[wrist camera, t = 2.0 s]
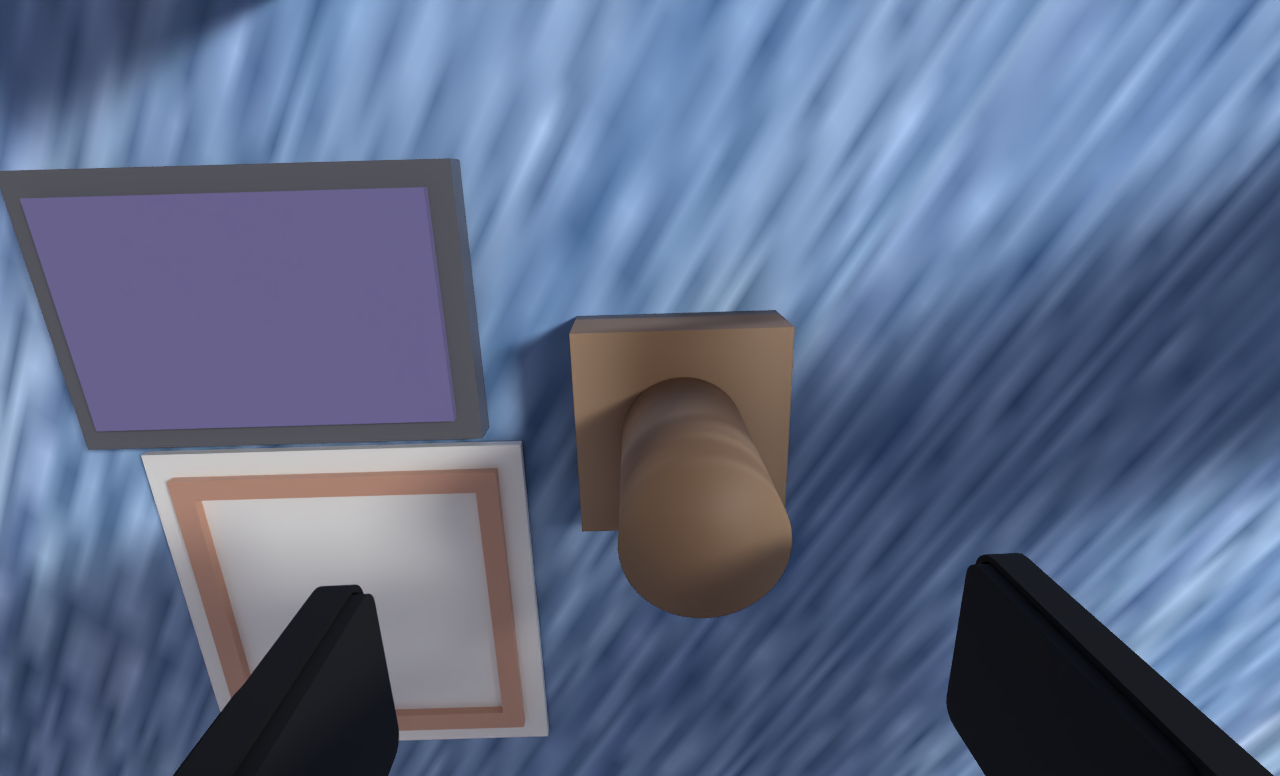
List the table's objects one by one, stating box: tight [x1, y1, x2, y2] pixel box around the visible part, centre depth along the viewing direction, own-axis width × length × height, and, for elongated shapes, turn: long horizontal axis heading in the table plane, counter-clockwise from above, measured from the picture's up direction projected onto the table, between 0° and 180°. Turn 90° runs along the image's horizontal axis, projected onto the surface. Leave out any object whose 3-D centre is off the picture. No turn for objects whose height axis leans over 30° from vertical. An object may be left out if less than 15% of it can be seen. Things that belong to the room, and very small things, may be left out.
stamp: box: [569, 310, 795, 618], centre depth 16 cm, size 6×6×8 cm
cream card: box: [141, 441, 549, 741], centre depth 21 cm, size 12×12×1 cm
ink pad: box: [0, 159, 489, 450], centre depth 18 cm, size 12×8×1 cm, turn 92°
